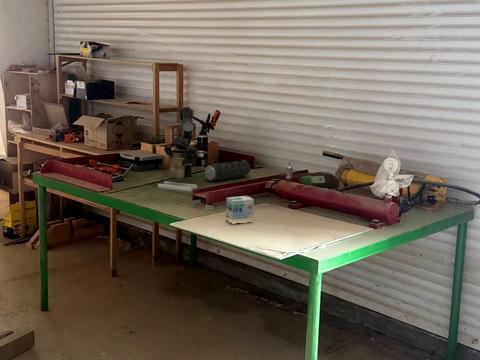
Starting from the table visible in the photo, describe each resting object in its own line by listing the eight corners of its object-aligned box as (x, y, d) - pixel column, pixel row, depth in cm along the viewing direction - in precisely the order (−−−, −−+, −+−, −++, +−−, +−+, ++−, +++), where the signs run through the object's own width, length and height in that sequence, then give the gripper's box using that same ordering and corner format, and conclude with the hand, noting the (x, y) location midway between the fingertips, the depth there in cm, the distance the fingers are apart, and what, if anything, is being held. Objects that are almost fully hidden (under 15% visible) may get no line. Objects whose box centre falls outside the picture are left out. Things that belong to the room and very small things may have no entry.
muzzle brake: (250, 178, 346) (250, 161, 344) (214, 184, 327) (214, 166, 325) (239, 175, 353) (240, 158, 351) (203, 181, 334) (203, 163, 332)
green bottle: (277, 196, 306) (278, 177, 304) (269, 191, 315) (270, 173, 313) (342, 192, 320) (343, 174, 317) (333, 188, 328) (334, 170, 326)
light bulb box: (231, 225, 252) (232, 201, 250) (225, 220, 258) (225, 197, 256) (253, 222, 257) (254, 198, 255) (246, 218, 263) (247, 195, 260)
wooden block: (173, 175, 314) (173, 157, 311) (184, 176, 311) (184, 158, 309) (169, 176, 310) (170, 158, 308) (181, 178, 308) (181, 159, 305)
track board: (166, 185, 321) (166, 180, 320) (197, 189, 314) (197, 184, 314) (156, 189, 311) (156, 184, 310) (189, 193, 304) (189, 188, 304)
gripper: (165, 130, 312) (155, 154, 305) (197, 133, 306) (188, 157, 299) (172, 143, 321) (162, 166, 314) (203, 146, 315) (194, 170, 308)
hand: (176, 165), depth 308 cm, fingers closed on wooden block, 6 cm apart
